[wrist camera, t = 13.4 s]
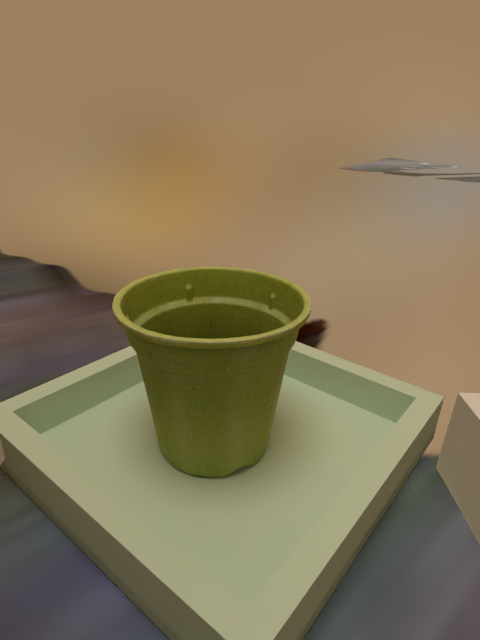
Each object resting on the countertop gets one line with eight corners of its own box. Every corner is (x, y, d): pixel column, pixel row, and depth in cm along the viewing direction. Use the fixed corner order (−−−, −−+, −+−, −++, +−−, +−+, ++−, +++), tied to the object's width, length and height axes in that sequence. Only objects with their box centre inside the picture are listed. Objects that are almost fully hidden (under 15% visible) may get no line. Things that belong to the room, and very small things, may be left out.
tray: (-11, 457, 24) (-23, 412, 23) (212, 343, 37) (213, 310, 36) (250, 720, 14) (254, 666, 13) (433, 438, 27) (444, 396, 26)
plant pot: (94, 486, 22) (70, 325, 18) (163, 383, 30) (157, 259, 26) (286, 523, 20) (303, 354, 16) (302, 403, 28) (316, 273, 25)
